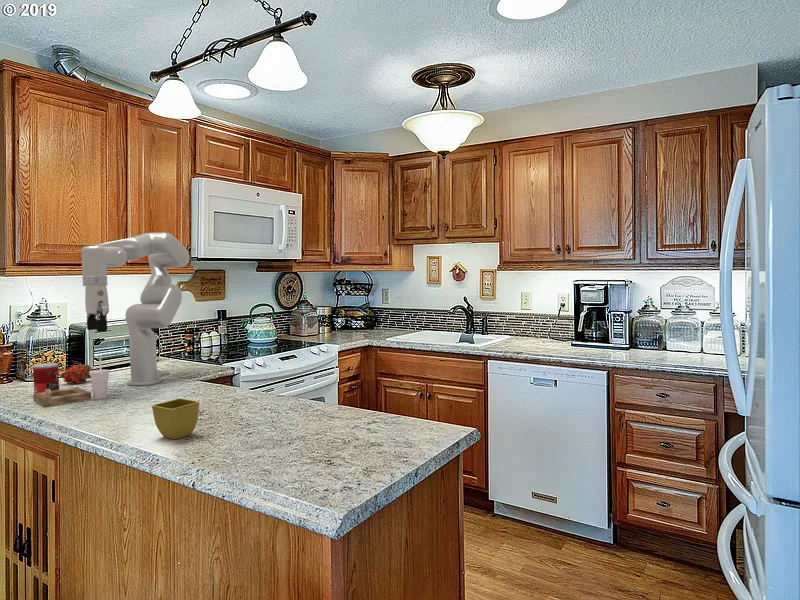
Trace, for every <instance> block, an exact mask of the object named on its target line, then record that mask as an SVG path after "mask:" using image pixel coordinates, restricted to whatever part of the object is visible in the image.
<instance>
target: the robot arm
mask: <svg viewBox="0 0 800 600" xmlns="http://www.w3.org/2000/svg"><path fill="white" fill-rule="evenodd" d="M189 253H190V252H189V251H188V249H187V248H186V247H185V246H184V245H183V244H182V243H181V242H180V240H178V238H176V237H175V236H174V235H173V234H172V233H170V232H145V233H142V234H139V235H135V236H132V237H128V238H124V239H123V238H122V239H118V240H113V241H108V242H102V243H99V244H96V245H86V246H84V247H82V248H81V272H82V273H81V274H82V287H85V289H84V291H85V292H84V293H85V294H84V295H85V296H84V298H85V300H84V303H85V312H86V327H87V328H86V329H87V330H88V331H93V330H94V331H95V330H96V332H98V333H100V332H108V317H107V315H108V314H109V313H110V305H109V294H108V289H107V288H108V287H107V286H108V268H119V267H122V266H124V265H125V264H126V263H127V262H129V261H135V260H139V259H141V258H144V257H147V259H148V260H147V261H148V264H149V269H150V277H149V279H148V281H147V282H146V285H145V286H144V288H143V290H142V292H141V294H140V297H139V298H140V299H139V301H140V303H136V304H132V305H130V306H129V307H127V308H126V311H125V321H126V325H127V326H126V327H127V329H128V337H129V338H128V341H129V359H130V379H129V380H127V381H126V385H127V386H132V387H133V386H135V387H136V386H137V387H141V386H149V385H155V384H159V383H162V376H163V377H164V376H165V377H166V376H169V375H170V374H171V373H170V370H168V369H167V370H159V369H158V363H157V362H158V361H157V359H158V358H157V338H156V336H155V333H154V331H153V330H152V329H164V328H166V327H168V326H170V325H171V324H172V322H173V320H174V318H175V316H176V314H177V312H178V310H179V309H180V306H181V304H182V301H183V292H182V290H181V288H180V287H179V286H177V284H172V281H173V280H172V277H171V274H169V272H168V271H167V268H183V267H186V266H188V264H189V263H190V257H191V256H190V254H189Z"/></svg>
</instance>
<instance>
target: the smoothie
mask: <svg viewBox="0 0 800 600" xmlns="http://www.w3.org/2000/svg"><path fill="white" fill-rule="evenodd" d="M98 360H99V361H98V362H99V369H93V371H90V372H89V375H90V376H91V378H90V381H91V386H92V391H93V398H94V400H103V399H102V398H105V399H107V398H106V397H108V388H109V387H108V386H109V374H110V373H111V372H110V370H111V369H102V358H101V357H100V358H99V359H98Z"/></svg>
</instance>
